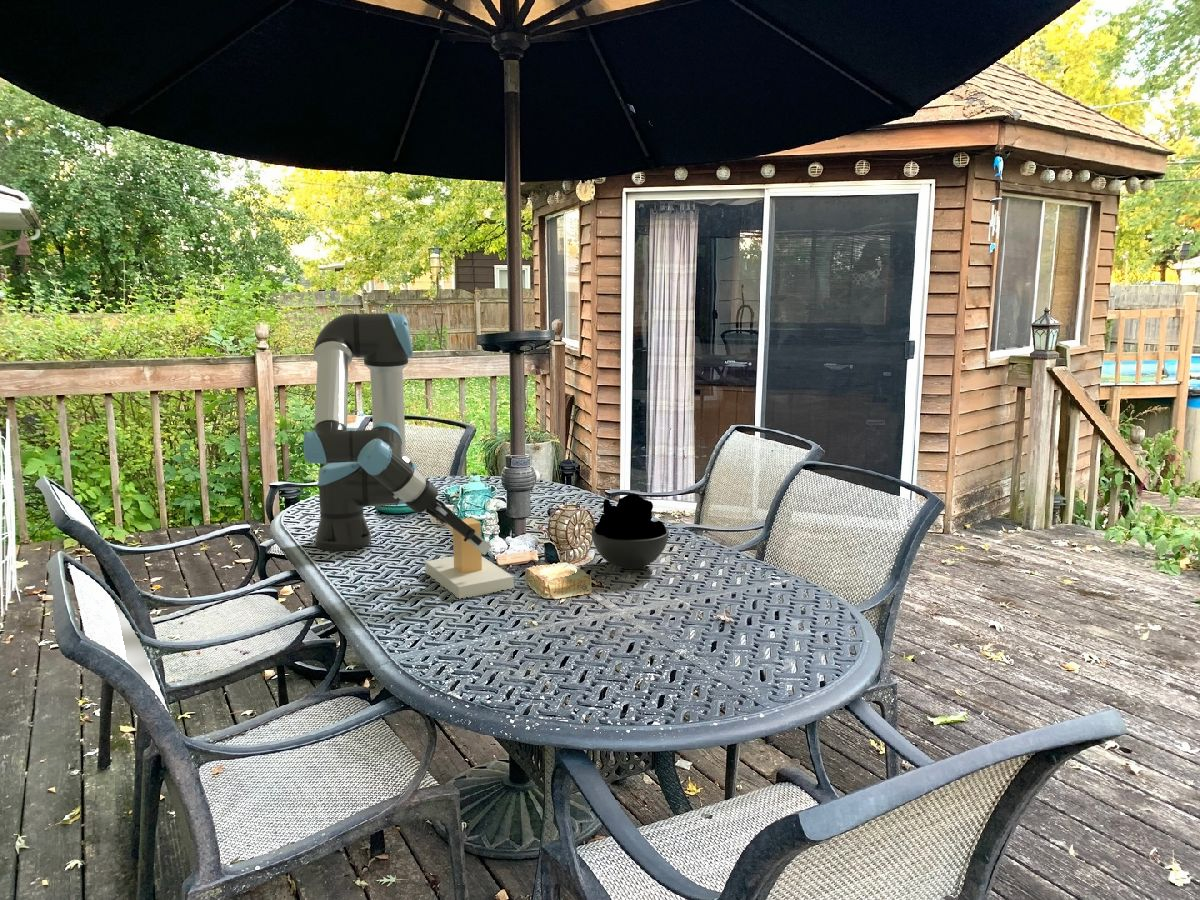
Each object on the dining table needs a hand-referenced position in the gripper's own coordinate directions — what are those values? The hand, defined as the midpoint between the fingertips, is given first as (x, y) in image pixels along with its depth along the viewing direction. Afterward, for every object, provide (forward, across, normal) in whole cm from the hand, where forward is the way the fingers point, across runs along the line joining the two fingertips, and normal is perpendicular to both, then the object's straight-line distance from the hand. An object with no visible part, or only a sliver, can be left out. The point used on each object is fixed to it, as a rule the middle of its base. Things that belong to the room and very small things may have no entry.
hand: (476, 543), depth 203 cm
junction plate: (+5, 0, -8) cm, 9 cm away
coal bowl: (+33, +12, +20) cm, 41 cm away
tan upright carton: (+3, 0, -6) cm, 7 cm away
